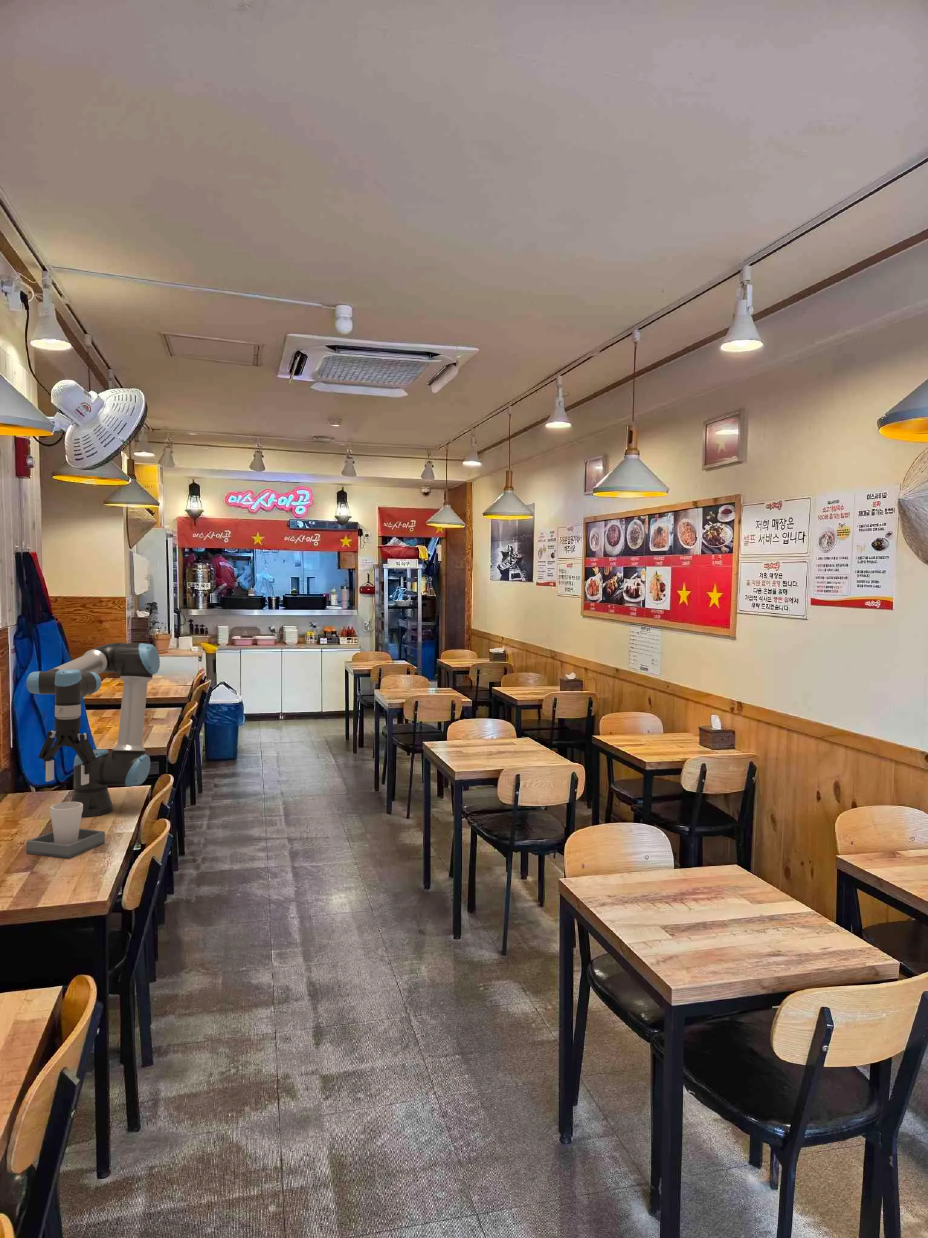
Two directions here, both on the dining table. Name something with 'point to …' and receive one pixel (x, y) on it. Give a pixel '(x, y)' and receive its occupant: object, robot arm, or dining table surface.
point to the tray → (49, 848)
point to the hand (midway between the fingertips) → (67, 782)
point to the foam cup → (66, 821)
